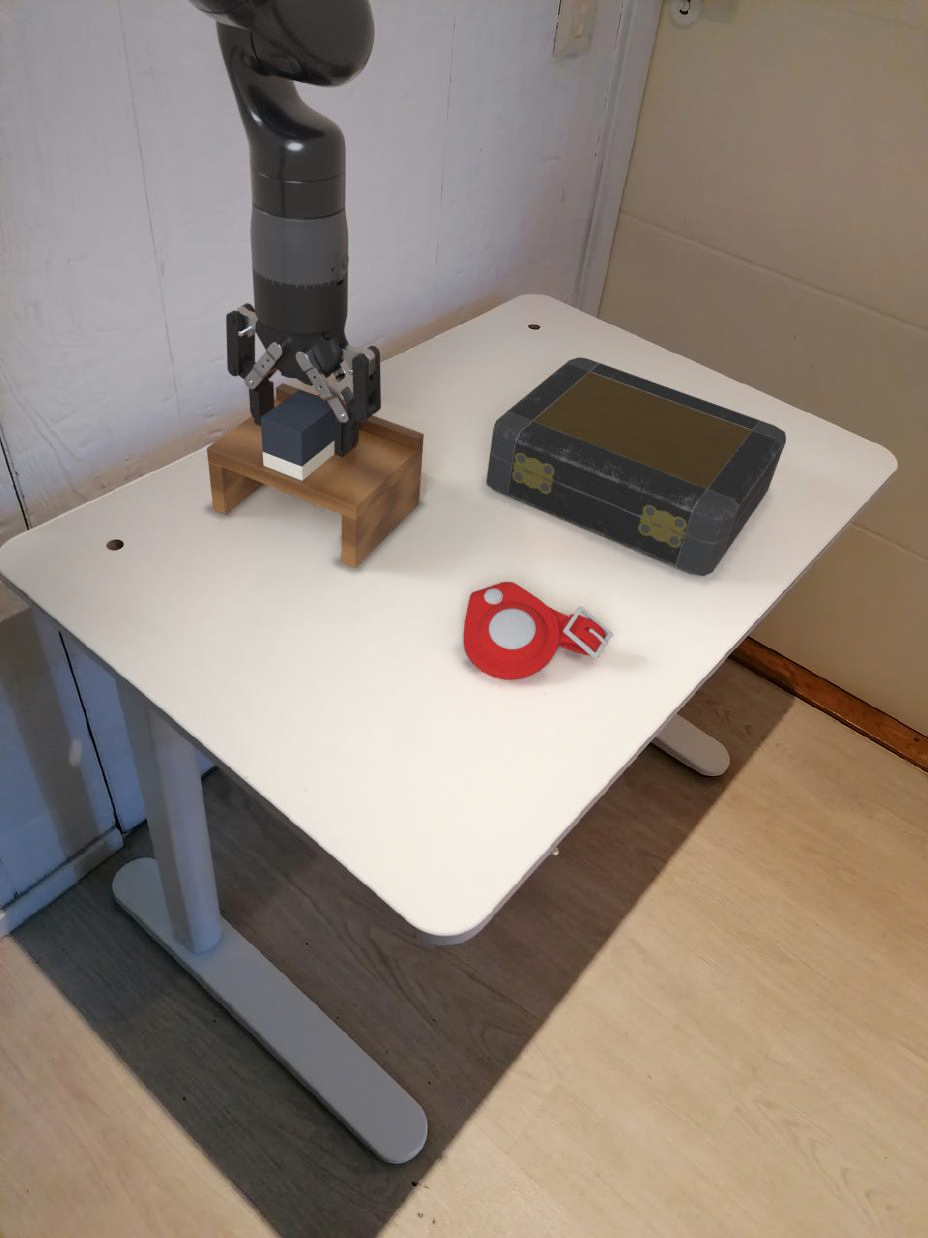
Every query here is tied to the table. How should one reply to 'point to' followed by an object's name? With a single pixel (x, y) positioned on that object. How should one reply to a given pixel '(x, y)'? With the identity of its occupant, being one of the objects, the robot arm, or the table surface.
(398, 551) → the table surface
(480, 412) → the table surface
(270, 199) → the robot arm
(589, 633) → the tracker holder
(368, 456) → the shoe shelf
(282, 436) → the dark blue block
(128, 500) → the table surface
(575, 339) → the table surface
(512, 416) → the cash box
